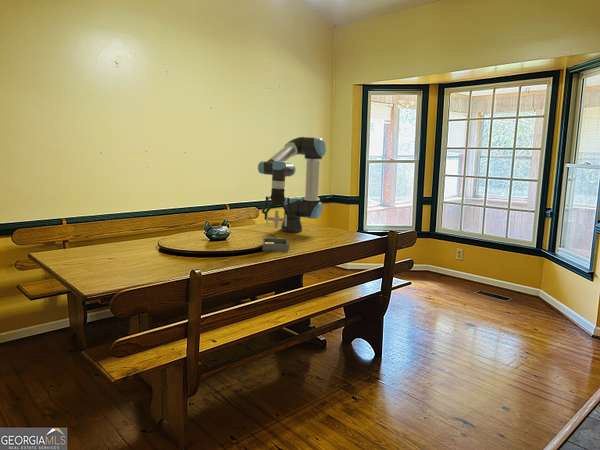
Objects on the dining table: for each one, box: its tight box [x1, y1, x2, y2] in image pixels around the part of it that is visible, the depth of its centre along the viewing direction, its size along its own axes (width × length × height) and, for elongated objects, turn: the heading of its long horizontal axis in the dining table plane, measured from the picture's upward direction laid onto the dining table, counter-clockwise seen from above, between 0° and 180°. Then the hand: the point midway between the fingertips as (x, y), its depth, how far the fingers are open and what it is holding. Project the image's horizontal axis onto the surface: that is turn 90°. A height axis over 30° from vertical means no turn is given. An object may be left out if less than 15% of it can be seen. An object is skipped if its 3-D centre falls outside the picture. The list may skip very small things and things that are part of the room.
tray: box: [262, 237, 290, 253], centre depth 263 cm, size 15×15×4 cm
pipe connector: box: [268, 210, 285, 229], centre depth 260 cm, size 10×10×10 cm
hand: (276, 225), depth 261 cm, fingers closed on pipe connector, 10 cm apart
